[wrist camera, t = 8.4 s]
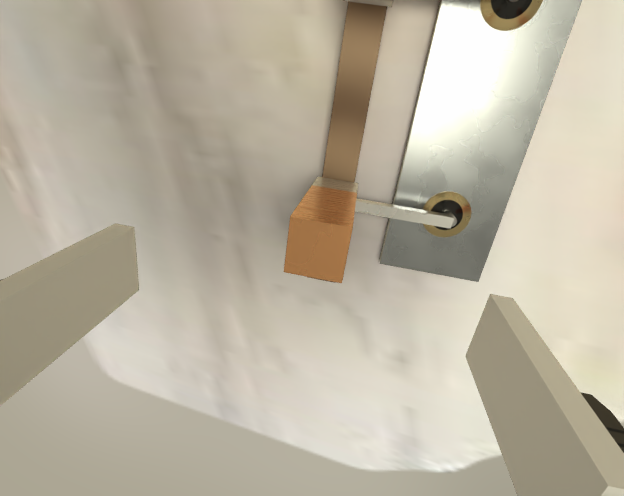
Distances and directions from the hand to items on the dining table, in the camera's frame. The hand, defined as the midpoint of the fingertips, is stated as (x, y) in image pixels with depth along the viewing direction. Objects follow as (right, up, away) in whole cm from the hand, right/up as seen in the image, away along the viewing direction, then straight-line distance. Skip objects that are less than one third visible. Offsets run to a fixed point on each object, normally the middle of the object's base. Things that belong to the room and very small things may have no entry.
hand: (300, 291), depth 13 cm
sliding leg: (+6, +5, +14) cm, 16 cm away
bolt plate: (+12, +11, +12) cm, 20 cm away
